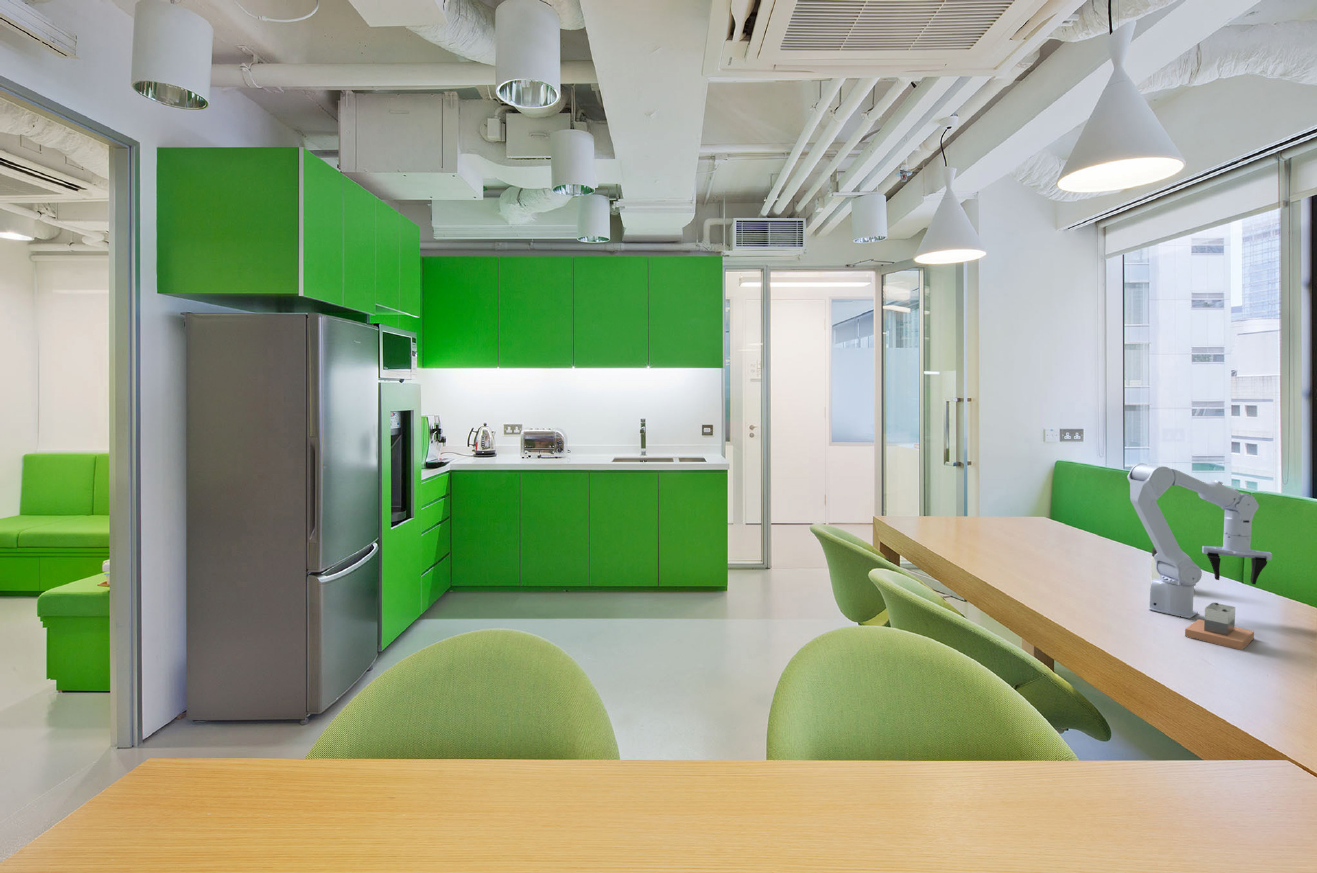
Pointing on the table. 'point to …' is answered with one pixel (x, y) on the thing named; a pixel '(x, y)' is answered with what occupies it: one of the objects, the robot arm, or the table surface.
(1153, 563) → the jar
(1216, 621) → the block
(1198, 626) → the stand
